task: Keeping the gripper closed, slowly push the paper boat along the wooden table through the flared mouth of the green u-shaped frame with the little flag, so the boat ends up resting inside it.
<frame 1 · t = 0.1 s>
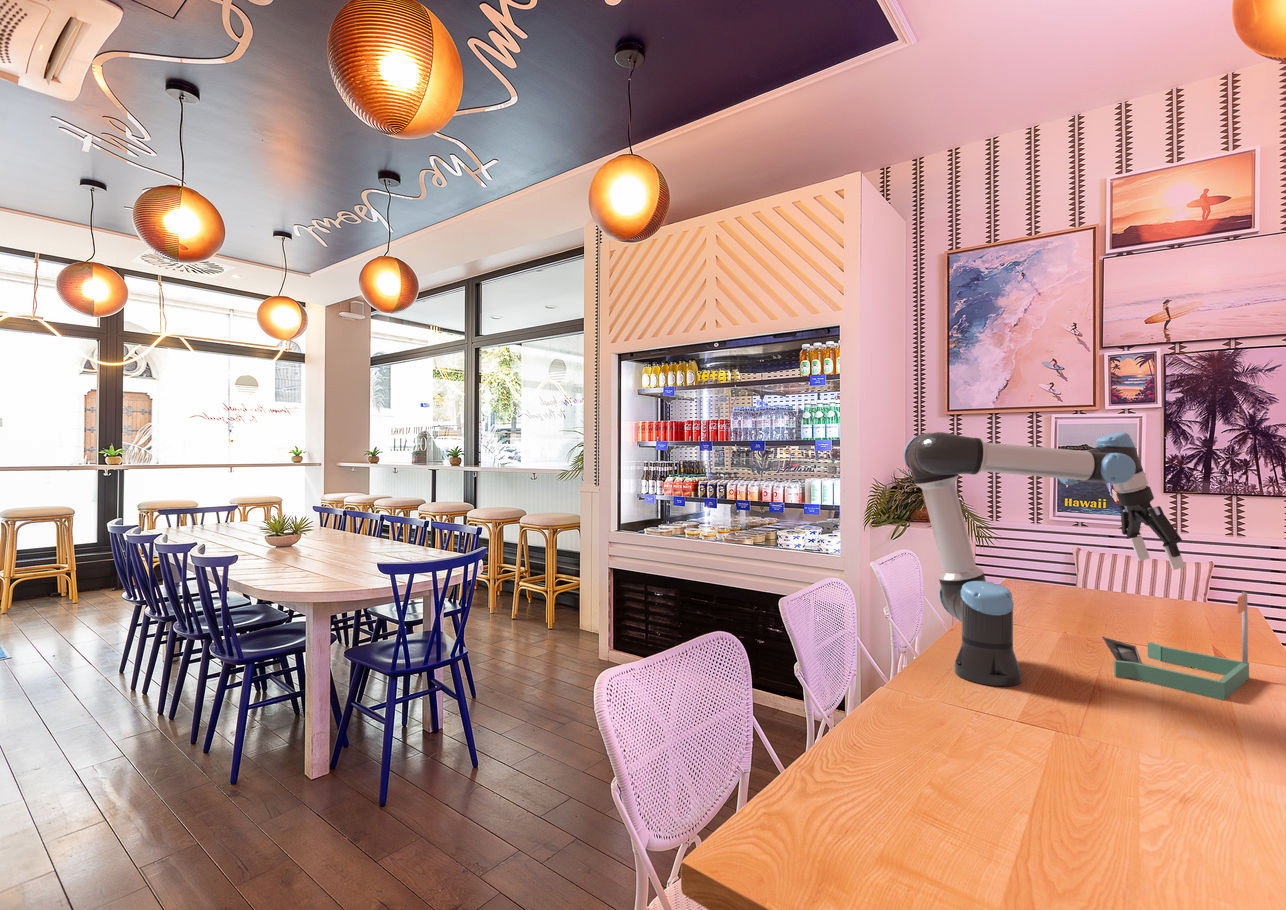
hand: (1160, 563, 167), 28 cm above the table, tool tilted 20°, fingers open, 13 cm apart
paper boat: (1122, 664, 169), on the table
green u-shaped frame: (1188, 678, 158), on the table
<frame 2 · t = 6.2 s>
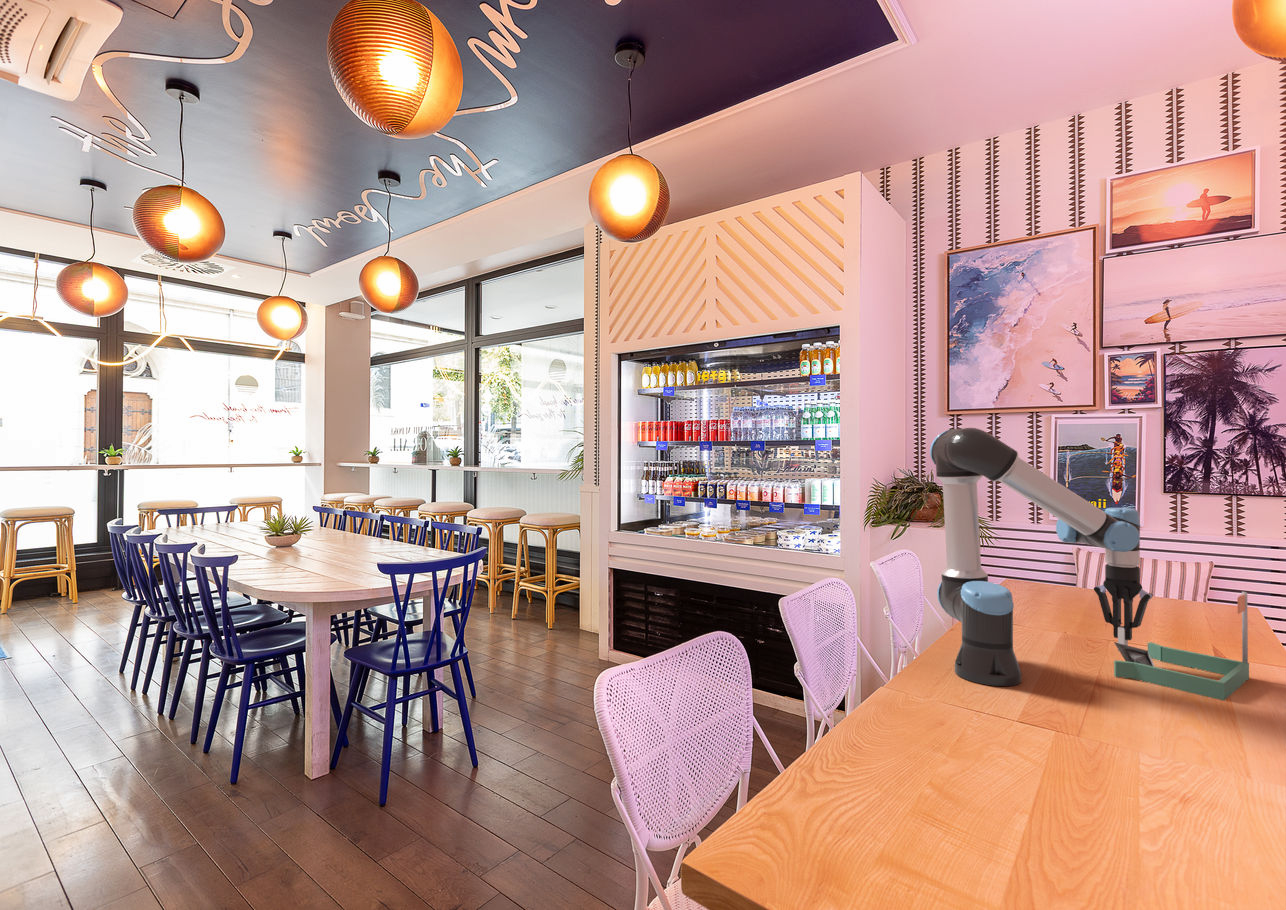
hand: (1122, 650, 169), 3 cm above the table, tool pointing down, fingers closed
paper boat: (1135, 670, 164), on the table, touching gripper
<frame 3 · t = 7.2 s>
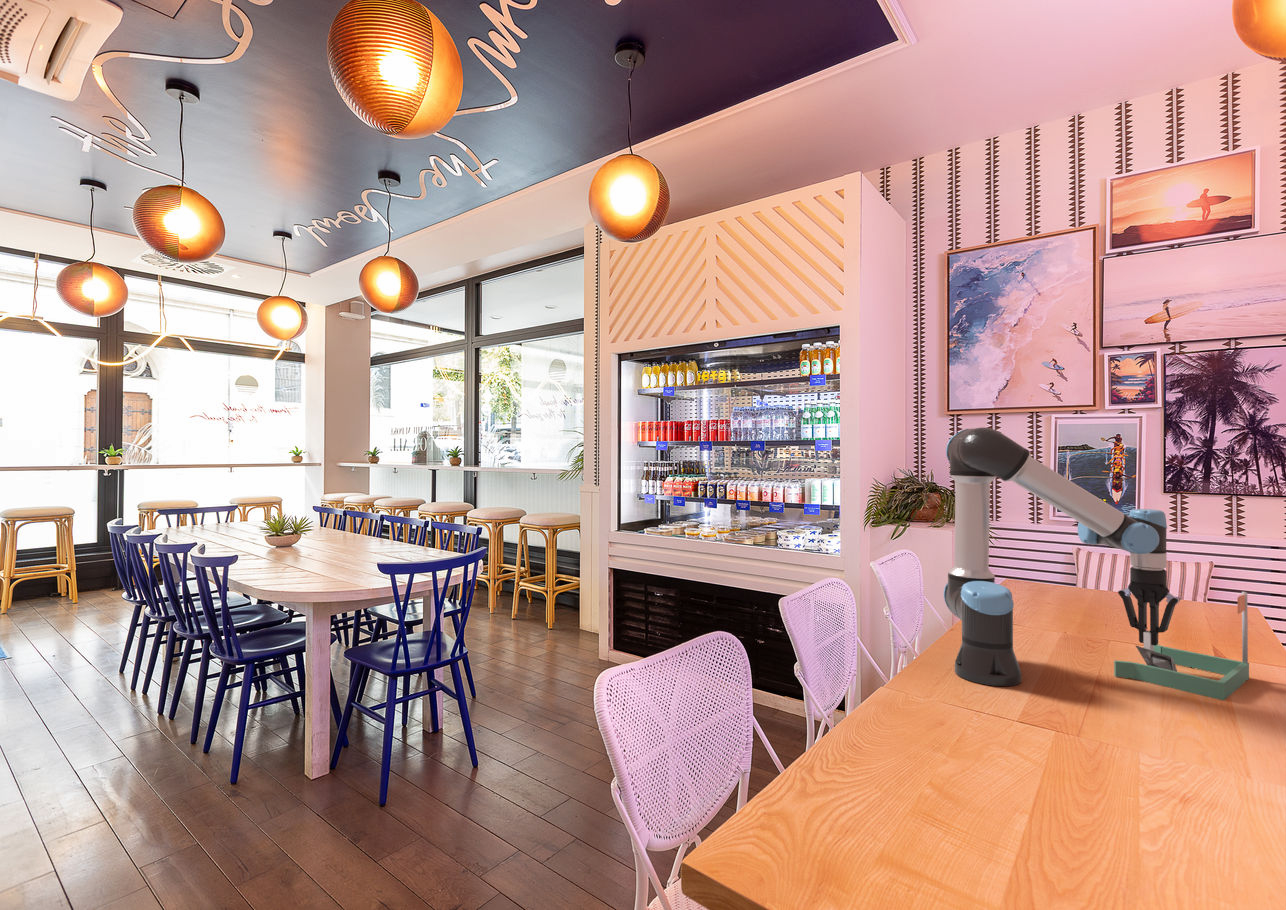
hand: (1148, 656, 165), 4 cm above the table, tool pointing down, fingers closed
paper boat: (1156, 675, 161), on the table, touching gripper
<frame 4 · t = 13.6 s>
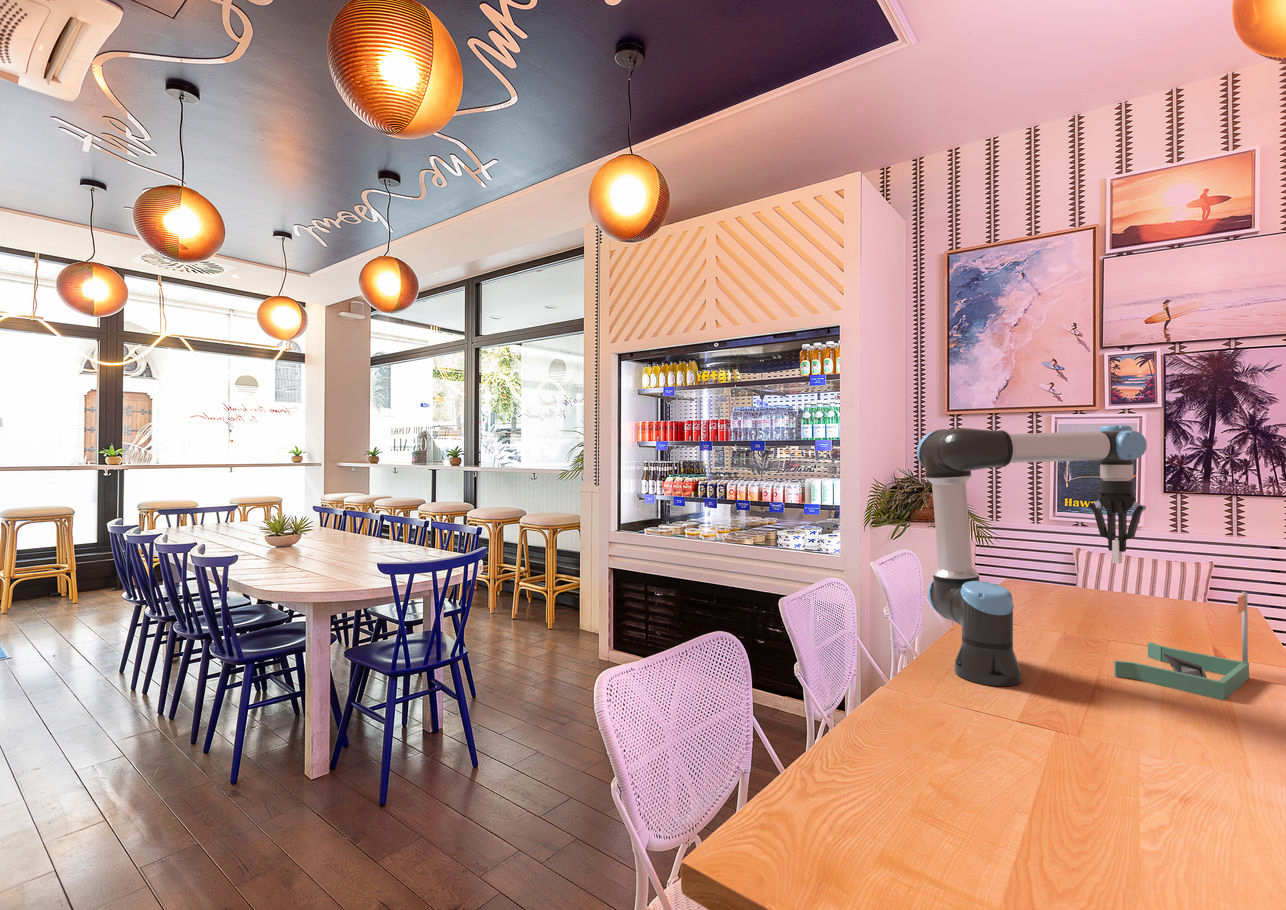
hand: (1117, 562, 176), 26 cm above the table, tool pointing down, fingers closed
paper boat: (1185, 685, 154), on the table
at the end: paper boat inside the target area on the green u-shaped frame (6.0 cm from its centre), point 0.0 cm above the green u-shaped frame's base; paper boat tilted 0° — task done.
